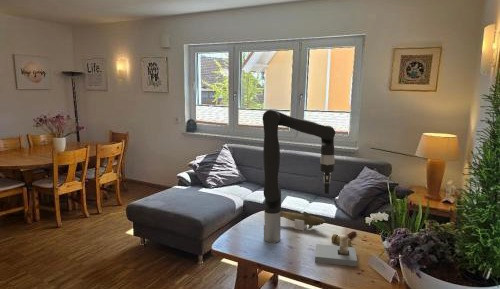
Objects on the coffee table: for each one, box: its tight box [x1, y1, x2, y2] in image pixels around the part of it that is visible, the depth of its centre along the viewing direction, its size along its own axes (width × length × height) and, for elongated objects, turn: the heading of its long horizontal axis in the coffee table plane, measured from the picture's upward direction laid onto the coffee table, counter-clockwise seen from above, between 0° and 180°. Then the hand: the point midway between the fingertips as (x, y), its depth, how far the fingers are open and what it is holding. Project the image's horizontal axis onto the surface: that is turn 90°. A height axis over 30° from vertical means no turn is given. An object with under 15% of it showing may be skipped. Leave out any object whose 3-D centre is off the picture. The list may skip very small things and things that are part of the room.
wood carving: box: [280, 209, 326, 231], centre depth 203 cm, size 9×35×11 cm, turn 61°
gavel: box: [331, 231, 357, 247], centre depth 186 cm, size 21×5×10 cm
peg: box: [339, 233, 348, 256], centre depth 164 cm, size 4×4×12 cm
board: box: [314, 243, 358, 267], centre depth 165 cm, size 20×14×3 cm
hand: (326, 191), depth 177 cm, fingers open, 8 cm apart
